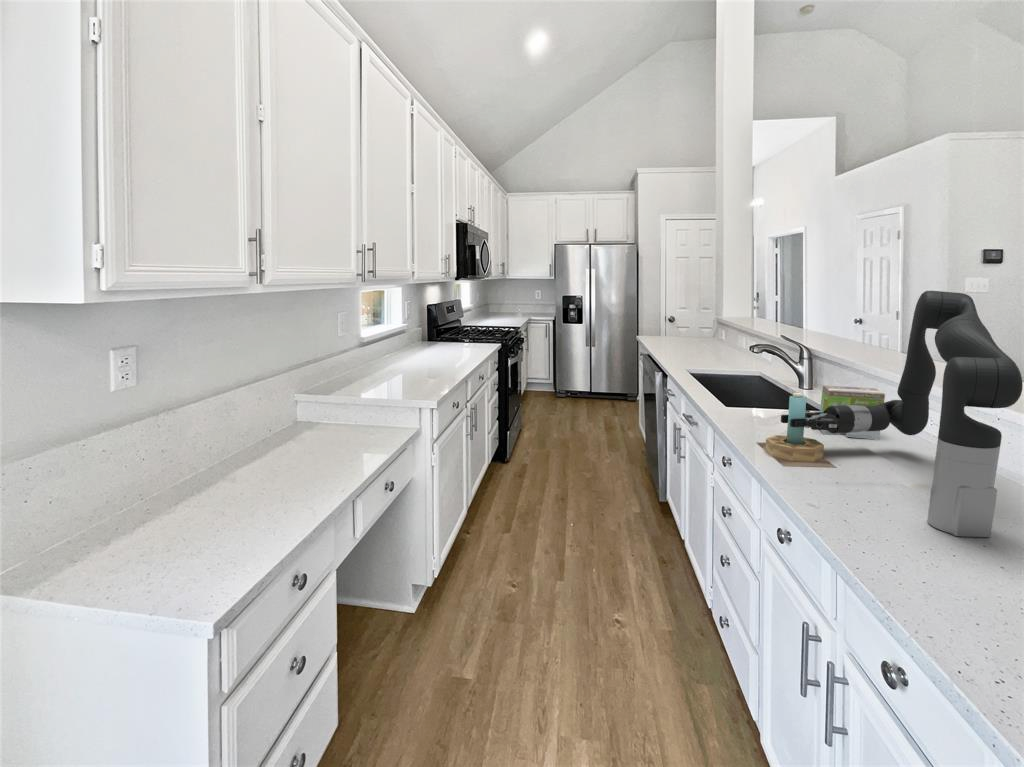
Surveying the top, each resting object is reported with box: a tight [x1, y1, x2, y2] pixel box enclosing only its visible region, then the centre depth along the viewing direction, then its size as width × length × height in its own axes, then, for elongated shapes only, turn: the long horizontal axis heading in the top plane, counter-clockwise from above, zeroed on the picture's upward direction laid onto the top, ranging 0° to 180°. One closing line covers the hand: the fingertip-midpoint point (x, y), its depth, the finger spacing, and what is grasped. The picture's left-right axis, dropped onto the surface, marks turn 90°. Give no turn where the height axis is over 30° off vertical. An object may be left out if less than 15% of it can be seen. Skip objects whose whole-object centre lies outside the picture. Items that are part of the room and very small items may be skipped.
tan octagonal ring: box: [764, 434, 825, 462], centre depth 152 cm, size 13×13×4 cm
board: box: [755, 441, 838, 469], centre depth 152 cm, size 22×13×1 cm, turn 174°
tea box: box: [819, 385, 886, 440], centre depth 174 cm, size 15×10×15 cm
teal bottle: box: [786, 392, 807, 445], centre depth 151 cm, size 4×4×16 cm
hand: (786, 421), depth 150 cm, fingers closed on teal bottle, 4 cm apart
